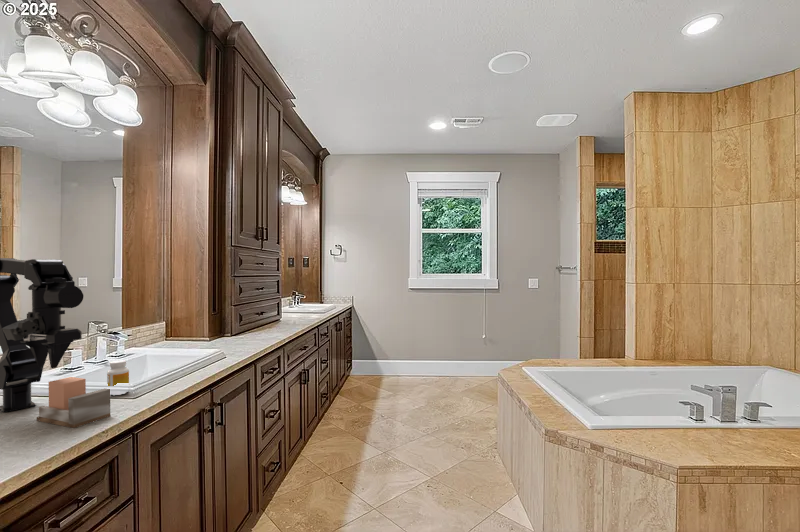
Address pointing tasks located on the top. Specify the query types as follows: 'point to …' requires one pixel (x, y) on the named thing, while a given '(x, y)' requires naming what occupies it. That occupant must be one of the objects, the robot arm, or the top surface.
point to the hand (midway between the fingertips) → (47, 367)
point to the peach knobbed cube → (65, 391)
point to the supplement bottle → (117, 373)
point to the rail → (79, 410)
